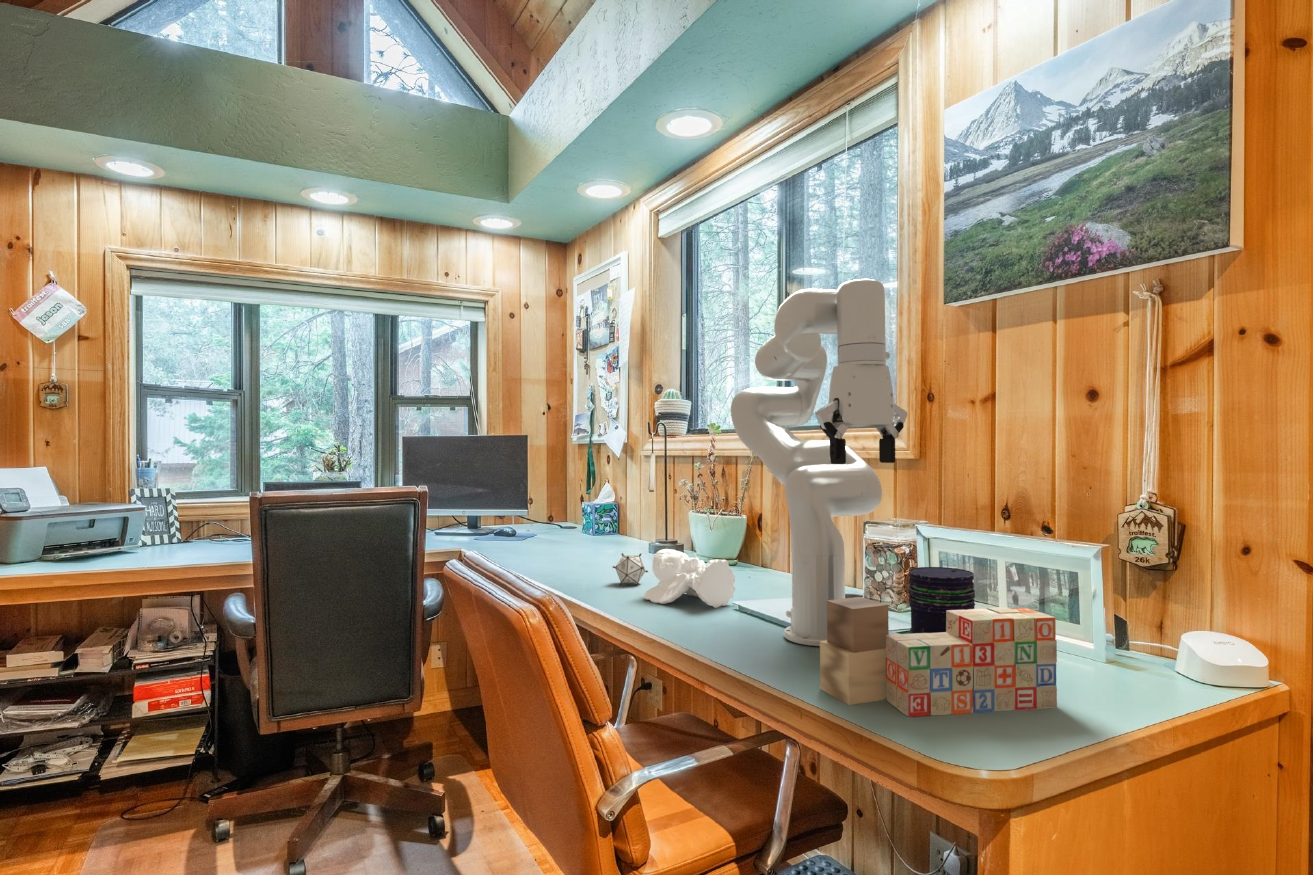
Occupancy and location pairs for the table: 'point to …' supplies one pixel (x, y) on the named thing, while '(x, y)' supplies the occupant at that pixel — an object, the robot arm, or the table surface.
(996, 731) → the table surface
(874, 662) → the oak block
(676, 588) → the cherub figurine
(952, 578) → the storage jar
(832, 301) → the robot arm
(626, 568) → the game die
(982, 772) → the table surface
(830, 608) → the walnut cube
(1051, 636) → the stack of blocks
